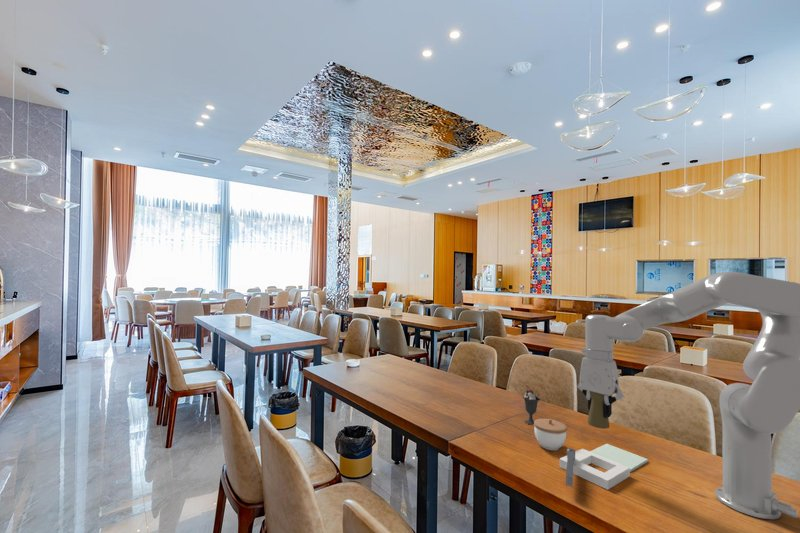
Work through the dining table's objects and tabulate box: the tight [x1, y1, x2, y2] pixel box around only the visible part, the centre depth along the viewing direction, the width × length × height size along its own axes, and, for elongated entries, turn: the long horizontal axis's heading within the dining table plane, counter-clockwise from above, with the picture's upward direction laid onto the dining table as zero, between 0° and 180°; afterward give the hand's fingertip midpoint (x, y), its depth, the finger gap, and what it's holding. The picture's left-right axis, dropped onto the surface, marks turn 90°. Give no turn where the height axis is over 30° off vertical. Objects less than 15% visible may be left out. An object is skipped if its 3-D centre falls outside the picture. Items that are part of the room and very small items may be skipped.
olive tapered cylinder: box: [586, 391, 610, 430], centre depth 111 cm, size 6×6×11 cm
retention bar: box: [565, 447, 576, 488], centre depth 105 cm, size 19×2×2 cm, turn 153°
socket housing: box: [558, 448, 631, 491], centre depth 110 cm, size 14×14×3 cm
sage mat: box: [589, 443, 649, 473], centre depth 119 cm, size 13×13×1 cm
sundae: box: [522, 385, 541, 425], centre depth 148 cm, size 7×7×15 cm
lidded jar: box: [533, 418, 568, 451], centre depth 127 cm, size 11×11×9 cm
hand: (599, 414), depth 111 cm, fingers closed on olive tapered cylinder, 3 cm apart
